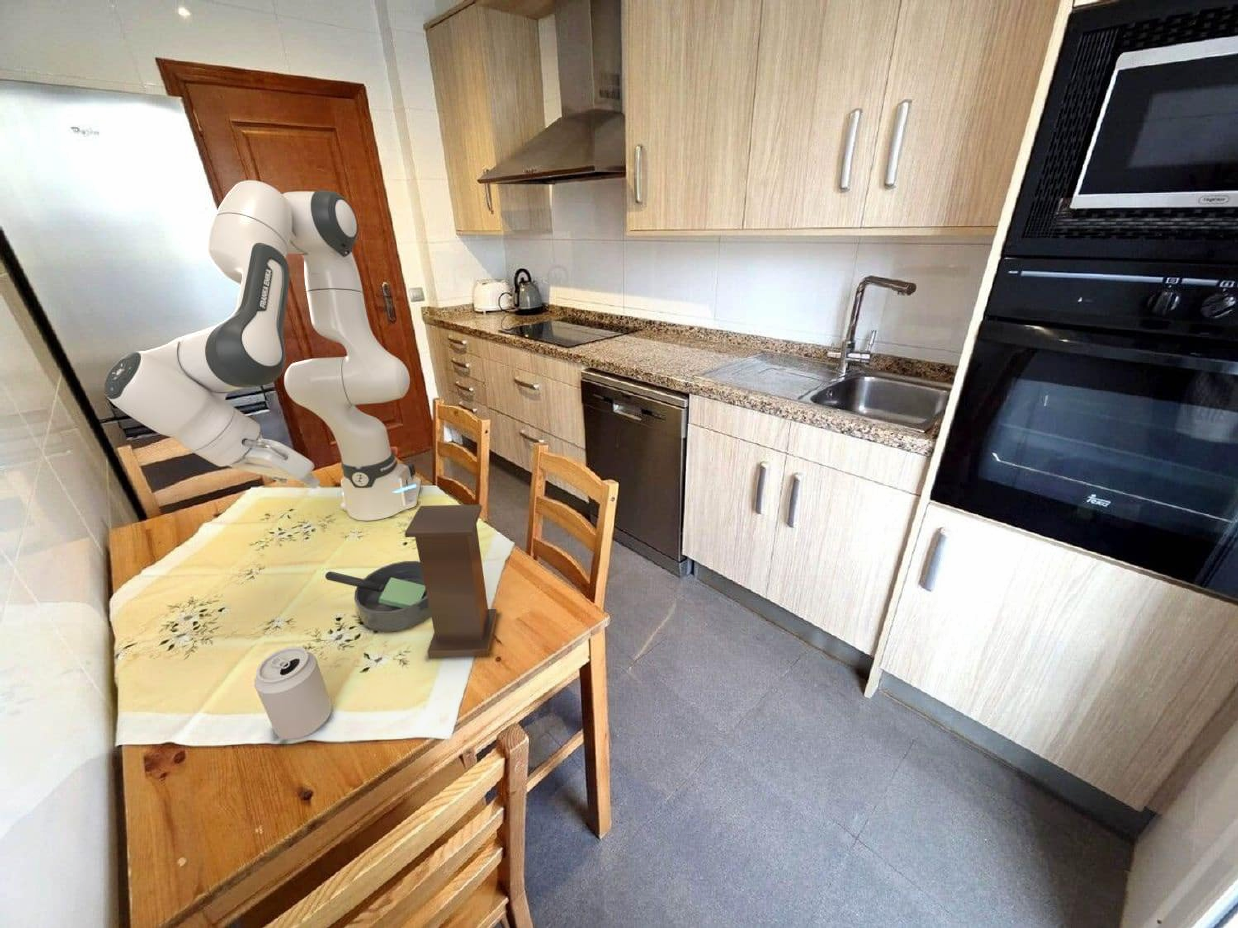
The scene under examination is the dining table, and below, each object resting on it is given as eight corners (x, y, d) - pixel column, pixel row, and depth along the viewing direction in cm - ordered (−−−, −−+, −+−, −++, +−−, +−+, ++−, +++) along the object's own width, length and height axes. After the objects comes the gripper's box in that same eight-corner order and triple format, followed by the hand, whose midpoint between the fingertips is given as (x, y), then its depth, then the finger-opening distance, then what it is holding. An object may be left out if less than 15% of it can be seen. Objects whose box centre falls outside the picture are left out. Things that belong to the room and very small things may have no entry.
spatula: (317, 588, 91) (318, 581, 91) (332, 567, 97) (333, 561, 96) (416, 611, 95) (417, 605, 94) (425, 590, 100) (427, 584, 100)
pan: (377, 579, 104) (372, 561, 102) (450, 577, 105) (447, 559, 103) (345, 633, 91) (340, 614, 89) (430, 630, 91) (426, 611, 89)
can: (308, 748, 71) (284, 689, 66) (263, 737, 72) (236, 679, 67) (344, 703, 78) (325, 646, 72) (302, 694, 79) (280, 637, 74)
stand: (443, 616, 95) (422, 502, 84) (497, 614, 95) (482, 501, 84) (428, 658, 86) (402, 536, 75) (487, 656, 86) (470, 535, 75)
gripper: (277, 426, 77) (345, 473, 88) (209, 419, 87) (279, 462, 97) (251, 460, 74) (325, 504, 85) (184, 449, 84) (258, 490, 94)
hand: (300, 482), depth 91 cm, fingers open, 8 cm apart
